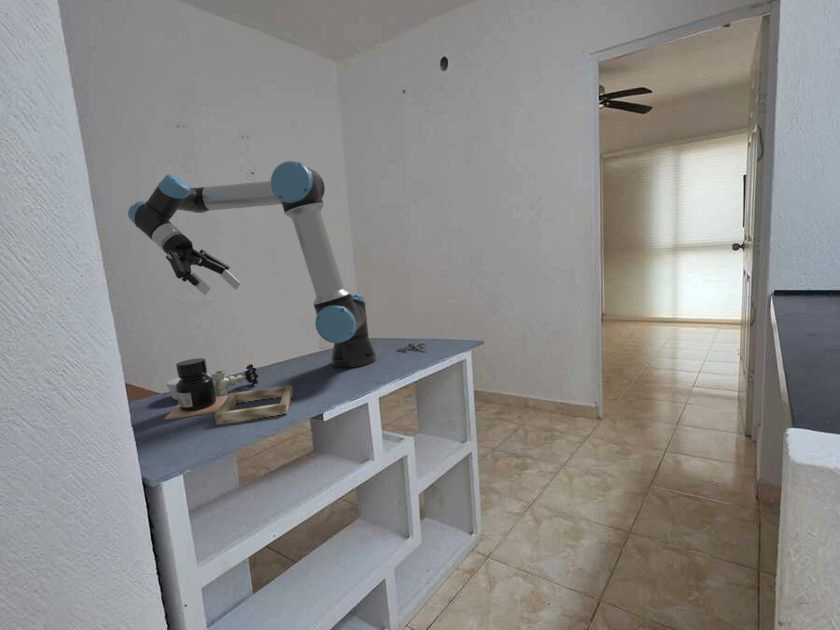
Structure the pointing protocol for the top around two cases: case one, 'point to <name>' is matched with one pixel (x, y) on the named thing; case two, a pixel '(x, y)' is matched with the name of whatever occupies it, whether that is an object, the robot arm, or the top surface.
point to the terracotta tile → (210, 409)
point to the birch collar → (232, 416)
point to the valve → (232, 380)
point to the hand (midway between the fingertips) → (223, 288)
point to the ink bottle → (194, 385)
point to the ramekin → (174, 387)
